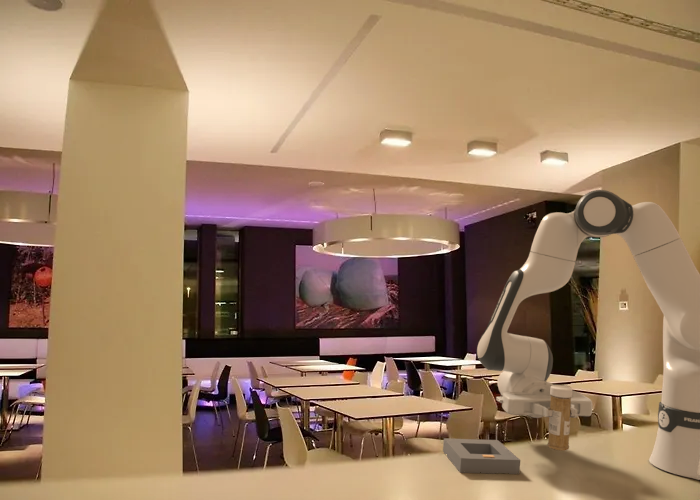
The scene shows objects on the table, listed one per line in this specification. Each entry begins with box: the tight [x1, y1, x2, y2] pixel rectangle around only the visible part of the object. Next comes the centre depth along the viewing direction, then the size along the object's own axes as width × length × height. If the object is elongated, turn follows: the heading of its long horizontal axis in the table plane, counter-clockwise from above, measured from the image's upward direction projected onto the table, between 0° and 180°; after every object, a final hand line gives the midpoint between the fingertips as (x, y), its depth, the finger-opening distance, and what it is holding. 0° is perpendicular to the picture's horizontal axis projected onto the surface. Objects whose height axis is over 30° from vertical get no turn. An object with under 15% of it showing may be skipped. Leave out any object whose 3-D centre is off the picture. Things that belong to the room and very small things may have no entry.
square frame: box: [442, 438, 521, 475], centre depth 133 cm, size 13×13×3 cm
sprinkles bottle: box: [547, 384, 573, 452], centre depth 132 cm, size 5×5×14 cm
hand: (562, 413), depth 131 cm, fingers closed on sprinkles bottle, 4 cm apart
